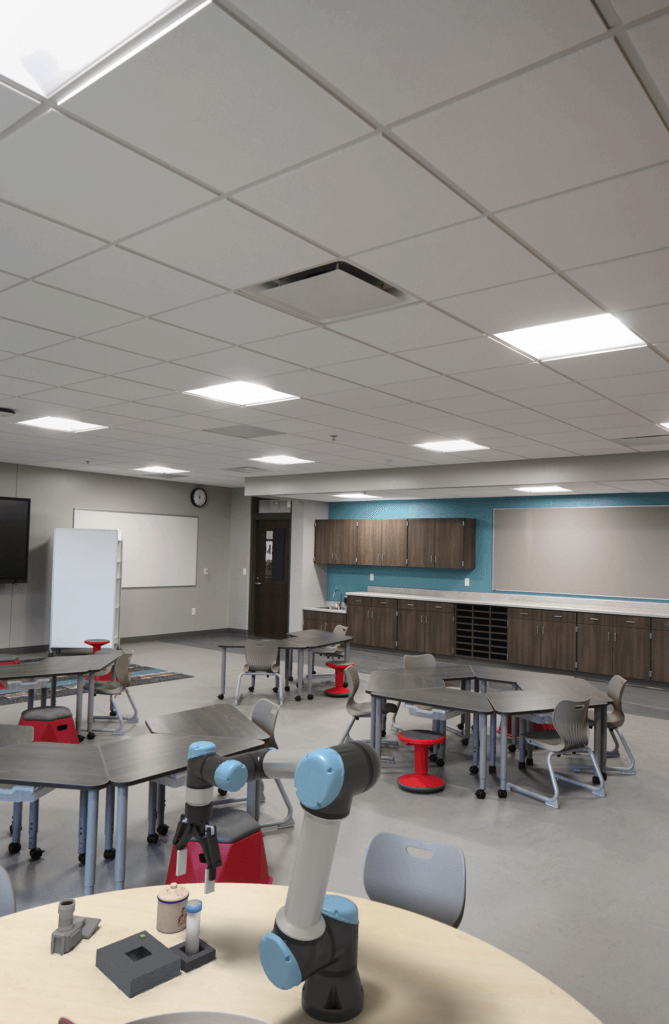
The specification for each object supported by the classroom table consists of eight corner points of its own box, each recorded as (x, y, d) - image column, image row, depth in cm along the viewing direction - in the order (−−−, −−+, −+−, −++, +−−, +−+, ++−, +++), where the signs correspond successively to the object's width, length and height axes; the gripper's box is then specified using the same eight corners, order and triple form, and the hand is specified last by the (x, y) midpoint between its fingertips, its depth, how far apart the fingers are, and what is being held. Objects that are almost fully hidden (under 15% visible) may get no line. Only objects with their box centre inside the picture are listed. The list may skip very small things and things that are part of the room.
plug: (202, 959, 173) (205, 903, 174) (189, 965, 170) (191, 908, 171) (193, 952, 176) (196, 897, 177) (180, 958, 173) (183, 903, 174)
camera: (45, 905, 175) (76, 881, 190) (41, 952, 174) (72, 925, 188) (75, 909, 174) (103, 885, 188) (71, 956, 172) (100, 928, 187)
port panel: (180, 974, 166) (181, 956, 166) (129, 998, 156) (130, 979, 156) (144, 945, 178) (145, 929, 179) (95, 965, 169) (96, 948, 169)
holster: (215, 959, 173) (215, 949, 173) (186, 973, 167) (186, 962, 167) (196, 945, 179) (196, 935, 179) (167, 958, 173) (168, 948, 173)
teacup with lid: (183, 934, 184) (185, 891, 186) (151, 933, 184) (154, 890, 186) (192, 913, 196) (194, 872, 198) (162, 912, 196) (164, 871, 198)
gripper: (238, 811, 171) (233, 895, 169) (185, 787, 189) (181, 863, 186) (214, 817, 166) (209, 905, 164) (162, 792, 183) (158, 871, 181)
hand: (194, 883), depth 175 cm, fingers open, 13 cm apart
